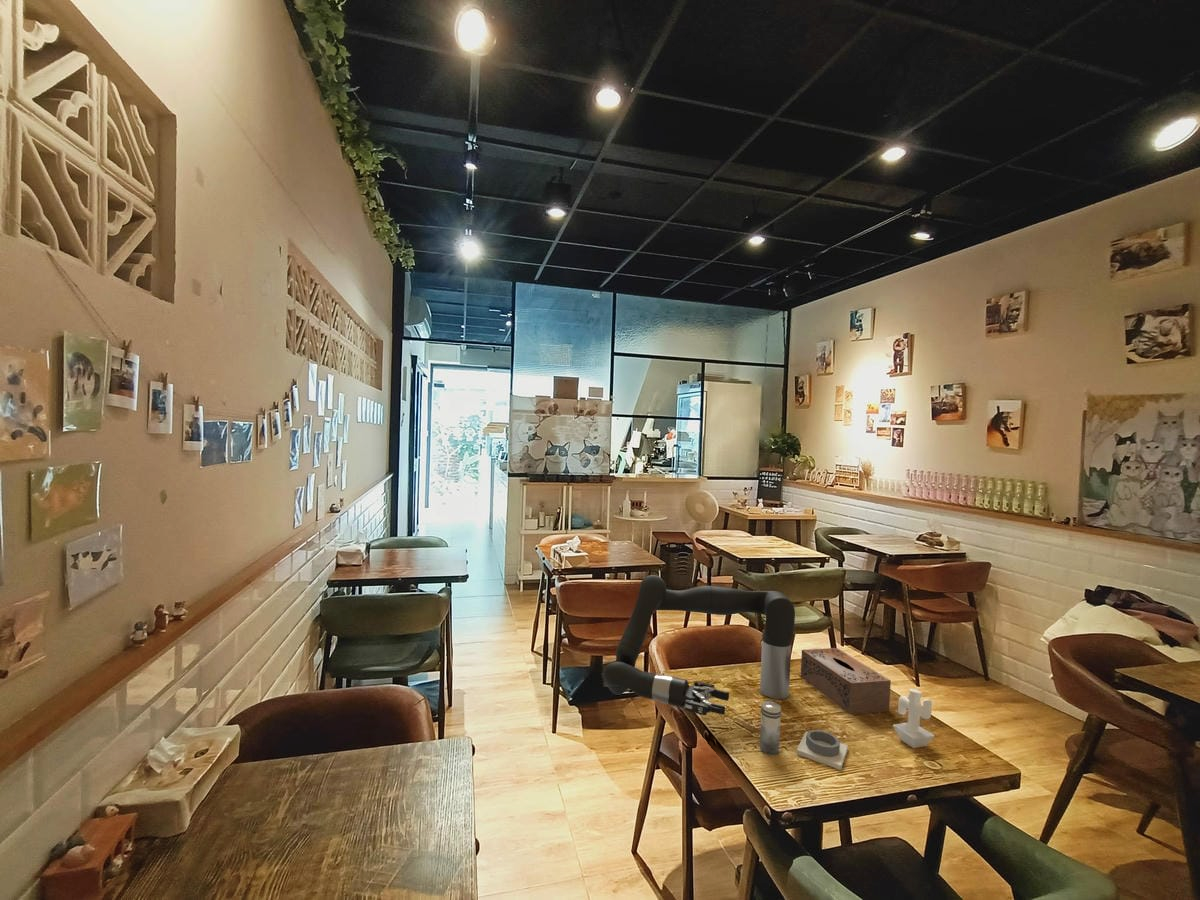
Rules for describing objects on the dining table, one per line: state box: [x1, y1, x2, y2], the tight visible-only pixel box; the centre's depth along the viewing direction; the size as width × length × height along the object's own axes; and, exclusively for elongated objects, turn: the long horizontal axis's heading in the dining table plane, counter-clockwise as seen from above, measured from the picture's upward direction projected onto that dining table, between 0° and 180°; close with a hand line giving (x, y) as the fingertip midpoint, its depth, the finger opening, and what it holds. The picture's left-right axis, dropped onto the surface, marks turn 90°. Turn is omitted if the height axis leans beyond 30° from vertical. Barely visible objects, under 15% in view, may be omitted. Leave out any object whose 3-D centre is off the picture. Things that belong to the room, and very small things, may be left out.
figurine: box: [892, 688, 935, 749], centre depth 146 cm, size 7×9×15 cm
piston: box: [759, 700, 782, 756], centre depth 140 cm, size 5×5×12 cm
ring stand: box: [795, 729, 849, 771], centre depth 140 cm, size 11×11×4 cm
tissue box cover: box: [800, 647, 892, 715], centre depth 174 cm, size 26×14×10 cm, turn 12°
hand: (726, 703), depth 144 cm, fingers open, 8 cm apart
